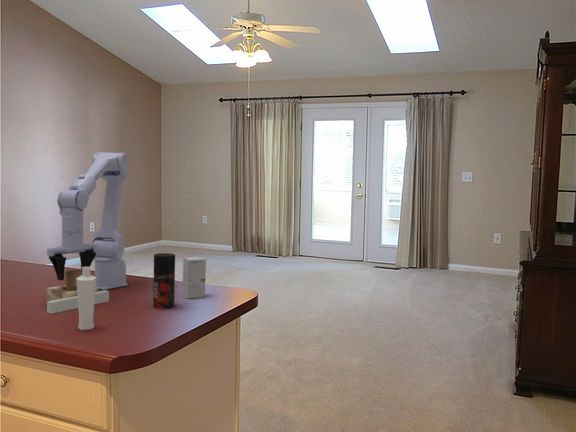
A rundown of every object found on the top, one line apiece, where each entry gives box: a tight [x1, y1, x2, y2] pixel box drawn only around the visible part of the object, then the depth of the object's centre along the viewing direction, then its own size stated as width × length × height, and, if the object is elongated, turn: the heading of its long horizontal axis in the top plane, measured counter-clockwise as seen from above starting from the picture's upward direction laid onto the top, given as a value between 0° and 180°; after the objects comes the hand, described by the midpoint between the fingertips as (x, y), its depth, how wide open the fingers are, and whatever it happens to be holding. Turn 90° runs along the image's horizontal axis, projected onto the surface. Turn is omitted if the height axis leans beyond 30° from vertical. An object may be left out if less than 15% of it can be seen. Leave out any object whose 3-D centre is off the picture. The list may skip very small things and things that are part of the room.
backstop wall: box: [46, 289, 110, 315], centre depth 146 cm, size 18×2×3 cm, turn 145°
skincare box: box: [181, 256, 207, 299], centre depth 162 cm, size 6×4×12 cm
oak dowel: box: [65, 269, 82, 291], centre depth 150 cm, size 4×4×8 cm
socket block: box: [46, 284, 99, 302], centre depth 151 cm, size 10×10×4 cm
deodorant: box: [152, 252, 176, 310], centre depth 149 cm, size 6×6×15 cm
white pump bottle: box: [76, 266, 96, 331], centre depth 127 cm, size 5×4×15 cm
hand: (72, 277), depth 150 cm, fingers open, 7 cm apart
